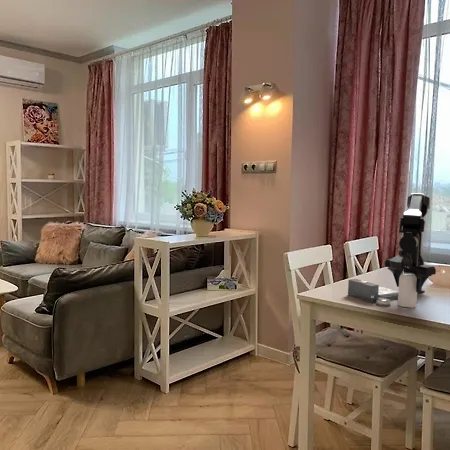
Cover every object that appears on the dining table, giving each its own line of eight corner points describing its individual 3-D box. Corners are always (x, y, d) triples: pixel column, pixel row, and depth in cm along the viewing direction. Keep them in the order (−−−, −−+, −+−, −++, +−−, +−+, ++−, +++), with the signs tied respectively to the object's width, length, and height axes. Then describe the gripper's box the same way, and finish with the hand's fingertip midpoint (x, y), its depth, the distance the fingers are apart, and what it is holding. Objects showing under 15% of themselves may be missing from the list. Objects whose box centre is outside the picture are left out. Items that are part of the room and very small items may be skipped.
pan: (378, 287, 196) (378, 285, 196) (399, 293, 186) (399, 291, 186) (358, 290, 190) (359, 288, 190) (379, 296, 181) (379, 294, 181)
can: (394, 303, 178) (396, 272, 176) (411, 303, 178) (412, 272, 177) (402, 308, 171) (404, 276, 170) (419, 308, 172) (421, 276, 170)
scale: (376, 290, 197) (377, 274, 196) (401, 298, 185) (402, 281, 185) (346, 295, 189) (347, 278, 188) (371, 303, 177) (372, 285, 177)
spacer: (382, 302, 179) (383, 297, 179) (393, 306, 175) (393, 300, 174) (373, 304, 177) (373, 299, 176) (383, 307, 172) (383, 302, 172)
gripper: (375, 245, 176) (373, 286, 178) (417, 253, 160) (414, 297, 162) (395, 244, 182) (393, 283, 184) (438, 251, 166) (435, 294, 167)
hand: (407, 289), depth 174 cm, fingers open, 8 cm apart
